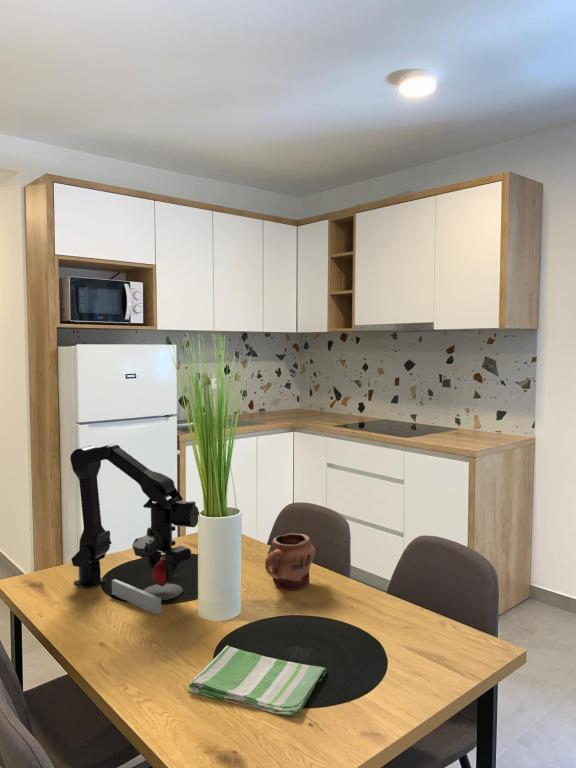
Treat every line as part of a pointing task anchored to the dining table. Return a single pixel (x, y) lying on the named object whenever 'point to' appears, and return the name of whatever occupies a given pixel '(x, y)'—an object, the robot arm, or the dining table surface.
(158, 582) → the onion
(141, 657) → the dining table surface
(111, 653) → the dining table surface
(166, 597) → the rubber mat
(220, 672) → the dish towel
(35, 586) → the dining table surface
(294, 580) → the brown clay mug
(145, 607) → the low wall
